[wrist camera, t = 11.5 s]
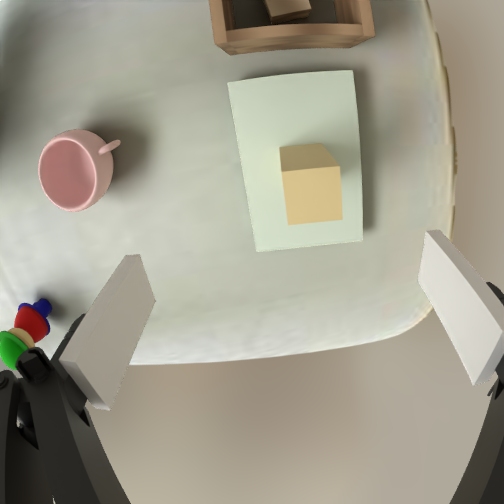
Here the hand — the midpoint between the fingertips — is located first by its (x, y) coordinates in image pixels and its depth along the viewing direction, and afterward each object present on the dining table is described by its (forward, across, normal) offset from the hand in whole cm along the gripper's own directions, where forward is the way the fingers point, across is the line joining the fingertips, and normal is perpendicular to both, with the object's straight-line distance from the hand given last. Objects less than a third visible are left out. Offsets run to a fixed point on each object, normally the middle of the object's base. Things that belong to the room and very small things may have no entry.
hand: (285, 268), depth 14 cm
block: (+24, +3, +17) cm, 30 cm away
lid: (+24, +3, -1) cm, 24 cm away
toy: (+24, -46, -22) cm, 56 cm away
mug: (+24, -23, +3) cm, 33 cm away
